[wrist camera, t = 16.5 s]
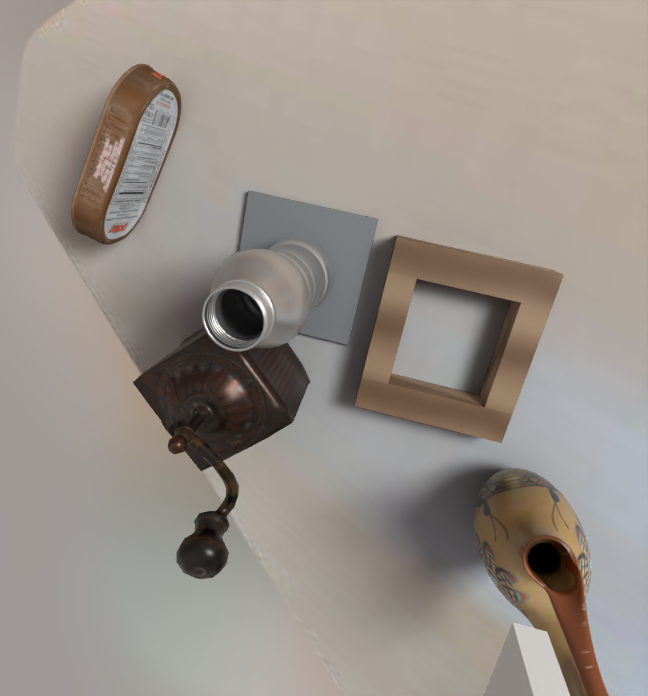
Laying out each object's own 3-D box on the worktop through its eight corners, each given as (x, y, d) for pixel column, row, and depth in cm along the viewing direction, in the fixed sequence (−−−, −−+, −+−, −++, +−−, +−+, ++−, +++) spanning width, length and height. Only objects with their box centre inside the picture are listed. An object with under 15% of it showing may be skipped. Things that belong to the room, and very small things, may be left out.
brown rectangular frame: (495, 428, 47) (501, 442, 44) (357, 393, 48) (354, 405, 45) (552, 269, 42) (563, 274, 39) (396, 235, 43) (397, 237, 40)
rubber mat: (348, 343, 46) (348, 345, 46) (231, 314, 47) (229, 316, 47) (377, 219, 43) (377, 219, 42) (250, 190, 44) (248, 190, 43)
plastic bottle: (300, 319, 46) (233, 400, 27) (253, 265, 45) (151, 308, 26) (351, 277, 44) (319, 331, 25) (304, 219, 43) (234, 230, 24)
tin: (168, 76, 42) (114, 46, 34) (199, 94, 42) (153, 69, 34) (110, 229, 47) (52, 234, 39) (139, 245, 47) (86, 254, 39)
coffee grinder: (171, 348, 49) (51, 437, 32) (254, 293, 46) (169, 361, 29) (257, 462, 52) (189, 598, 35) (341, 419, 49) (310, 547, 32)
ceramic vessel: (447, 438, 48) (499, 667, 24) (540, 416, 46) (695, 643, 22) (487, 569, 52) (565, 878, 28) (574, 554, 50) (738, 874, 26)
